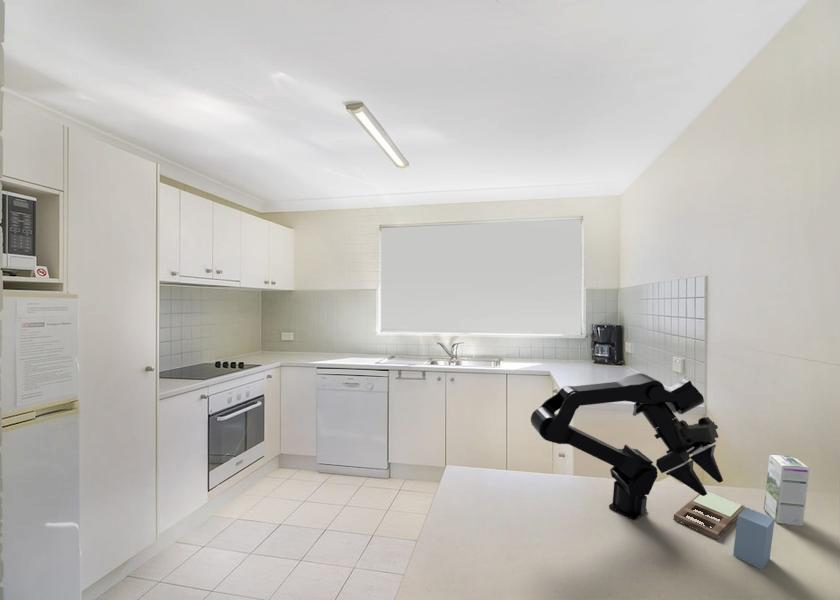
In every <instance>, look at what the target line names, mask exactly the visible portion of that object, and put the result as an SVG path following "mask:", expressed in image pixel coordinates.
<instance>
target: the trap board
mask: <svg viewBox="0 0 840 600" xmlns="http://www.w3.org/2000/svg"><path fill="white" fill-rule="evenodd" d="M706 492H707V495H705V496H702V495H700V494H699V493H698V494H696V496H694V497H693V498H692V499H691V500H690V501H688V502H687V503H686V504H685V505H684V506H682V507H681V508H680V509H679V510H678V511H677V512H676V513H674V514H673V520H674V519H676V520H678V521H680V522H682V523H681V524H683V523H684V524H683V525H685V524H686V525H685V526H687V525H688V526H687V527H689V526H691V527H693V528H695V529H697V530H696V531H698V530H699V531H698V532H700V531H701V532H700V533H702V532H703V533H702V534H704V533H705V534H704V535H706V534H707V535H706V536H708V535H709V537H710V536H711V538H713V539H715V540H718V539H717V538H718V537H719V536H720V535H721V534H722V535H723V534H724V533H725V532H726V530H728V529H729V527H731V525H732V524H733V523H734V522H735V521H736V520H737V519H736V518H737V517H738V515H739V514H740V513H741V512H742V510H743V509H744V508H745V507H746V506H745V505H743V504H741V503H738V502H736V501H733V500H730V499H729V498H726V497H724V496H721V495H718V494H715V493H713V492H710V491H708V490H706ZM695 509H696V510H698V511H701V512H703V514H704V515H702V514H700V513H698V512H695V511H693V510H695ZM687 515H688V516H690V517H693V518H694V519H697V520H699V521H701V522H703V523H704V525H705V526H703V524H702V525H701V524H699V523H697V522H694V521H692V520H690V519H688V518H686V516H687ZM705 515H709V516H710V517H711V516H712V517H715V518H717V519H720V521H719V522H718V521H716V520H714V519H711V518H709V517H707V516H705ZM735 519H736V520H735ZM676 520H675V521H676ZM734 520H735V521H734ZM678 521H677V522H678ZM733 521H734V522H733ZM680 522H679V523H680ZM710 526H711V527H712V528H710ZM691 527H690V528H691ZM693 528H692V529H693ZM695 529H694V530H695ZM722 535H721V536H722ZM721 536H720V537H721ZM720 537H719V538H720Z"/></svg>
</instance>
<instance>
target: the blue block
mask: <svg viewBox="0 0 840 600" xmlns="http://www.w3.org/2000/svg"><path fill="white" fill-rule="evenodd" d="M774 526H775V518H772V517H771V516H770V515H767V514H764V513H763V512H760V511H756V510H755V509H751V508H750V507H747V506H745V508H744V509H743V510H742V512H741V513H740V514H739V515H738V517H737V519H736V527H735V535H734V543H733V544H734V545H733V552H732V556H733V557H736V558H737V557H738V558H737V559H739V558H740V560H742V561H744V562H746V563H748V564H750V565H752V564H753V565H752V566H755V567H756V568H759V569H760V570H763V569H764V568H765V566H766V565H767V563H768V562H769V561H770V558H771V550H772V544H773V536H774V529H775V527H774Z"/></svg>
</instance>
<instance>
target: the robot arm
mask: <svg viewBox="0 0 840 600" xmlns="http://www.w3.org/2000/svg"><path fill="white" fill-rule="evenodd" d="M704 398H705V397H704V396H703V394H702V393H701V392H700V391H699V390H698V389H697V387H696V386H694V385H693V383H692V381H691V380H689V379H687V378H682V379H681V380H679V382H677V383H675V384H673V385H670V387H668V388H666V387H665V385H664V384H663V382H661V381H659V380H657V379H656V378H653V377H651V376H650V375H648V374H645V373H640V372H639V373H636V374H632V375H629V376H628V375H627V376H626V377H624V378H622V379H621V380H618V381H611V382H604V383H603V382H601V383H594V384H584V385H565V386H563V387H561V388H560V389H559V391H558V392H557V393H556V394H555V395H552V396H551V397H550V398H548V399H546V400H545V401H544V402H543V403H542V404H541V406H539V408H537V409H535V410H534V411H532V413H531V416H530V423H531V426H532V427H533V428H534V429H535V431H536V432H537V433H538V434H539V435H540V437H541V438H542V439H543V440H544V441H547V442H551V443H553V444H557V445H569V446H572V447H573V448H575V449H577V450H580V451H581V452H583V453H585V454H588V455H590V456H592V457H594V458H596V459H598V460H600V461H603V462H605V463H607V464H609V465H610V466H613V467H611V468H610V469H609V472H610V476H611V477H612V478H613V479H614V480H615V481H614V482H613V491H612V492H613V494H612V503H610V504H609V505H608V508H609V509H611V510H613V511H614V512H617V513H619V514H621V515H623V516H625V517H627V518H629V519H631V520H633V521H634V520H637V519H638V518H640V517H642V515H644V514H645V513H646V512H647V511H648V509H647V501H648V498H647V496H648V495H650V494H651V490H652V489H653V486H654V484H655V482H656V480H657V478H658V470H659V471H660V473H661V474H664V473H665V474H666V475H667V476H671V477H672V478H673V479H676V480H677V481H679V482H680V483H682V484H684V485H686V486H687V487H688V488H690V489H692V490H693V491H694V492H696V493H698V494H700V495H702V496H705V495H707V492H706V491H707V490H706V488H705V486H704V485H703V483H702V482H701V480H700V478H699V477H698V474H696V471H695V470H694V463H695V464H696V465H697V466H699V468H700V469H702V470H703V471H704V472H706V473H707V474H708V475H709V476H710V477H711V478H712V480H713V479H714V481H716V482H717V483H719V484H720V483H721V482H723V481H724V479H723V476H722V474H721V471H720V469H719V467H718V464H717V461H716V459H715V454H714V453H715V449H716V444H715V443H717V440H716V439H718V438H719V434H718V431H717V429H718V428H719V427H718V425H716V423H715V422H714V421H713V420H712V419H710V418H709V417H708V416H706V417H700V418H699V419H698V423H694V424H688V422H687V421H686V420H684V419H682V420H679V419H678V417H677V416H676V415H675V413H677V414H679V415H683V414H686V413H687V412H690V411H691V410H693V409H695V408H697V407H699V406H700V405H702V404H704V403H705V399H704ZM618 402H630V403H631V402H632V403H634V404H633V412H632V416H634V417H635V416H637V415H639V414H641V413H642V415H643V416H644V417H645V418H646V420H647V421H648V423H649V424H650V425H651V427H652V428H653V430H654V431H655V434H654V437H655V438H656V439H657V440H658V439H659V438H660V440H661V441H662V443H663V444H664V445H665V446H666V447H667V449H668V450H666V451H665V452H666V454H664V455H662V456H661V457H658V458H657V459H656V462H655V465H656V466H655V465H654V461H652V460H651V459H650V458H649V457H648V456H646V455H645V454H644V453H642V452H641V451H640V450H639V449H638V448H631V447H630V446H629V445H628V444H627V443H625V444H624V446H623V448H618V447H614V445H611V444H609V443H607V442H605V441H603V440H602V439H598V438H596V437H594V436H593V435H590V434H588V433H586V432H584V431H582V430H580V429H578V428H576V427H574V426H573V425H570V424H571V423H572V420H573V418H574V416H575V413H576V411H577V410H578V408H580V406H582V407H583V406H589V405H590V406H591V405H600V404H610V403H618ZM557 411H558V413H556V412H557ZM690 455H691V456H690Z"/></svg>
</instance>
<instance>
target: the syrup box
mask: <svg viewBox="0 0 840 600" xmlns="http://www.w3.org/2000/svg"><path fill="white" fill-rule="evenodd" d="M768 456H769V458H768V464H767V474H766V475H767V476H766V485H765V494H764V505H763V510H764V511H765V512H766V513H767V514H768V516H770V517H772V518H775V521H774V523H778V524H781V525H788V526H789V525H790V526H799V527H803V526H804V519H805V511H806V510H805V509H806V503H807V502H806V501H807V494H808V493H807V492H808V486H809V485H808V484H809V478H810V477H809V476H810V467H809V466H807V465H806V464H805V463H803V462H802V461H800V460H799V459H798V458H797V457H795V456H791V455H783V454H769V455H768Z"/></svg>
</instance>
